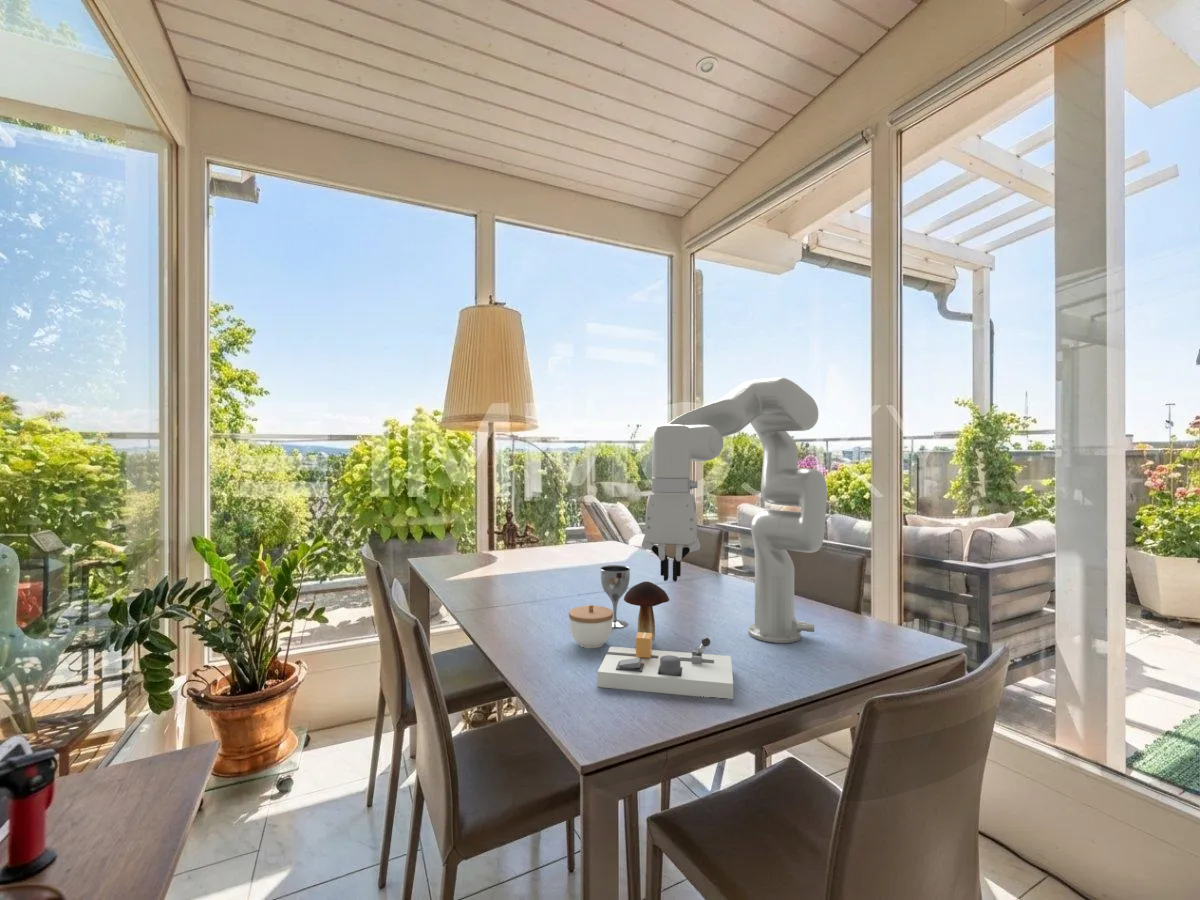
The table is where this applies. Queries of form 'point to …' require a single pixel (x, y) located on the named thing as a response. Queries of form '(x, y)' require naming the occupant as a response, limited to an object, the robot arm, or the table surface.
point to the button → (670, 665)
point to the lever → (703, 646)
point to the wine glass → (615, 587)
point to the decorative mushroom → (646, 604)
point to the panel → (644, 675)
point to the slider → (644, 645)
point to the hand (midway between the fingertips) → (670, 579)
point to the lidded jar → (590, 625)
